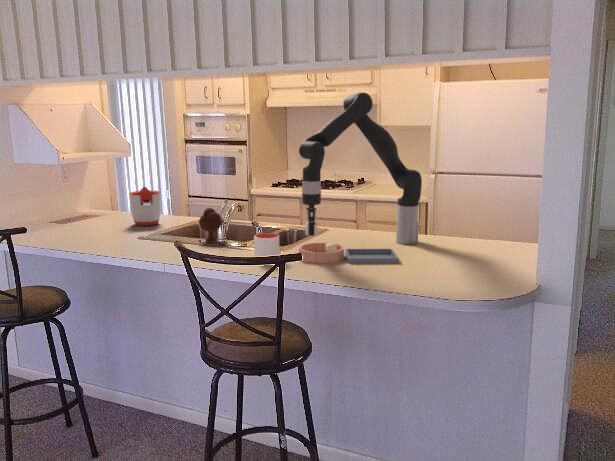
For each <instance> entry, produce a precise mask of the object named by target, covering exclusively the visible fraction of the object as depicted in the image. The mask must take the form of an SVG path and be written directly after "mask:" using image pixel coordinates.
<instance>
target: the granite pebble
mask: <svg viewBox="0 0 615 461" xmlns="http://www.w3.org/2000/svg"><path fill="white" fill-rule="evenodd" d="M310 223H313V221H310ZM305 236H309V226H308V221H305ZM314 236H318V222H317V221H315V226H314V235H313V236H312V237H314ZM309 237H310V236H309Z"/></svg>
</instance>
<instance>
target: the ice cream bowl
mask: <svg viewBox="0 0 615 461" xmlns="http://www.w3.org/2000/svg"><path fill="white" fill-rule="evenodd" d="M222 224H223V219H222V218H221V215H220V213H218V212H217V211H216V210H215V209H214V208H211V207H208V208H206V209H204V210H203V215H201V216H200V217H199V220H198V225H199V227H200V228H201V229H202V230H203V231H205V232H208V234H209V235H208V237H207V238H205V242H209V243H212V242H217V241H218V239H217V237H215V236H214V233H215V232H216V231H218V230H219V229H220V228H221V226H222Z"/></svg>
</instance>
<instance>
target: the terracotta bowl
mask: <svg viewBox="0 0 615 461" xmlns="http://www.w3.org/2000/svg"><path fill="white" fill-rule="evenodd" d="M327 243H328V242H325V241H324V242H322V241H320V242H315V241H314V242H308V243H304V244H302V245H299V246H298V254H299V253H301V254H302V255H303V261H304V262H303V261H302V262H303V263H305V262H308V263H307V264H310V263H315V264H329V263H336V262H340V261H342V260H343V259H344V258H345V256H344V254H345V247H344V245H342V244H339V243H336V244H337V251H333V252H325V247H326V244H327Z"/></svg>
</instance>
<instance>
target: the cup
mask: <svg viewBox="0 0 615 461" xmlns="http://www.w3.org/2000/svg"><path fill="white" fill-rule="evenodd" d="M253 240H254V241H253V242H254V243H253V244H254V245H253V247H254V249H253V250H254V251H253V252H254V257H255V256H266V255H278V254H279V255H280V234H277V233H273V232H272V233H271V232H267V233H266V232H263V233H257V234H255V235H254V236H253Z"/></svg>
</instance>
